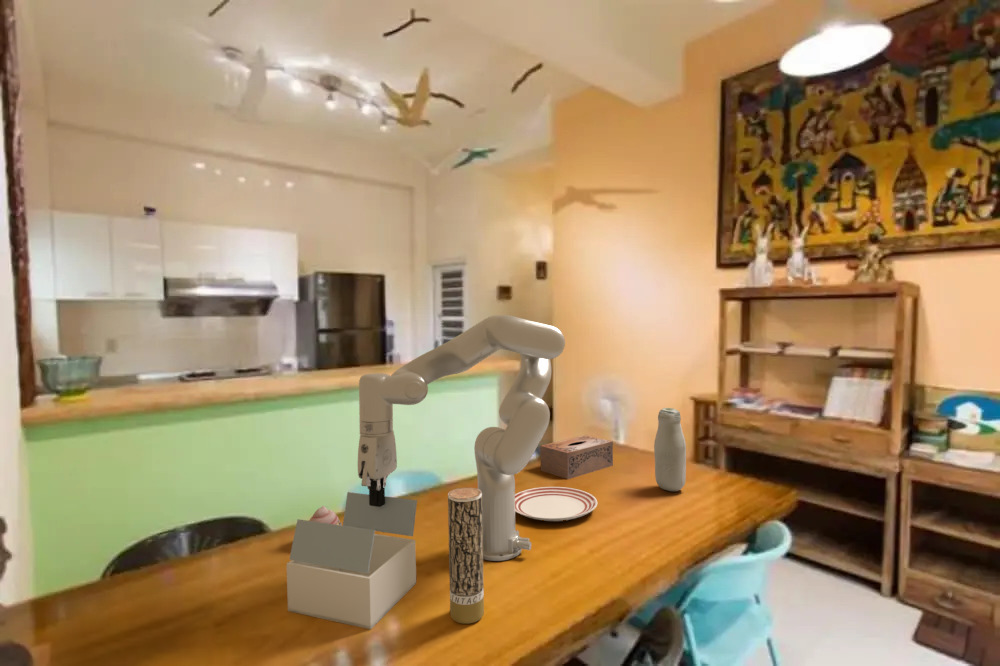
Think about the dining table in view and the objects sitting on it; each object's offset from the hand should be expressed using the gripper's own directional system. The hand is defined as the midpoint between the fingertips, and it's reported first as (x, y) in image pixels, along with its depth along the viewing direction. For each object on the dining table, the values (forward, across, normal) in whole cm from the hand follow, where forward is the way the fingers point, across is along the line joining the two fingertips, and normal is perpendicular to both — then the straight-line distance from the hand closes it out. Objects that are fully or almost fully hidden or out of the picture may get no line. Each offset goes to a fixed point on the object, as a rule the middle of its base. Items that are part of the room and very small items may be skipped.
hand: (377, 505), depth 120 cm
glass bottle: (+15, +80, -65) cm, 104 cm away
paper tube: (+17, -9, -26) cm, 32 cm away
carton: (+17, -9, 0) cm, 19 cm away
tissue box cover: (+16, +96, -30) cm, 102 cm away
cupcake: (+17, +11, +24) cm, 31 cm away
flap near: (+2, -17, 0) cm, 17 cm away
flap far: (+2, 0, 0) cm, 2 cm away
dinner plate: (+16, +51, -30) cm, 62 cm away
